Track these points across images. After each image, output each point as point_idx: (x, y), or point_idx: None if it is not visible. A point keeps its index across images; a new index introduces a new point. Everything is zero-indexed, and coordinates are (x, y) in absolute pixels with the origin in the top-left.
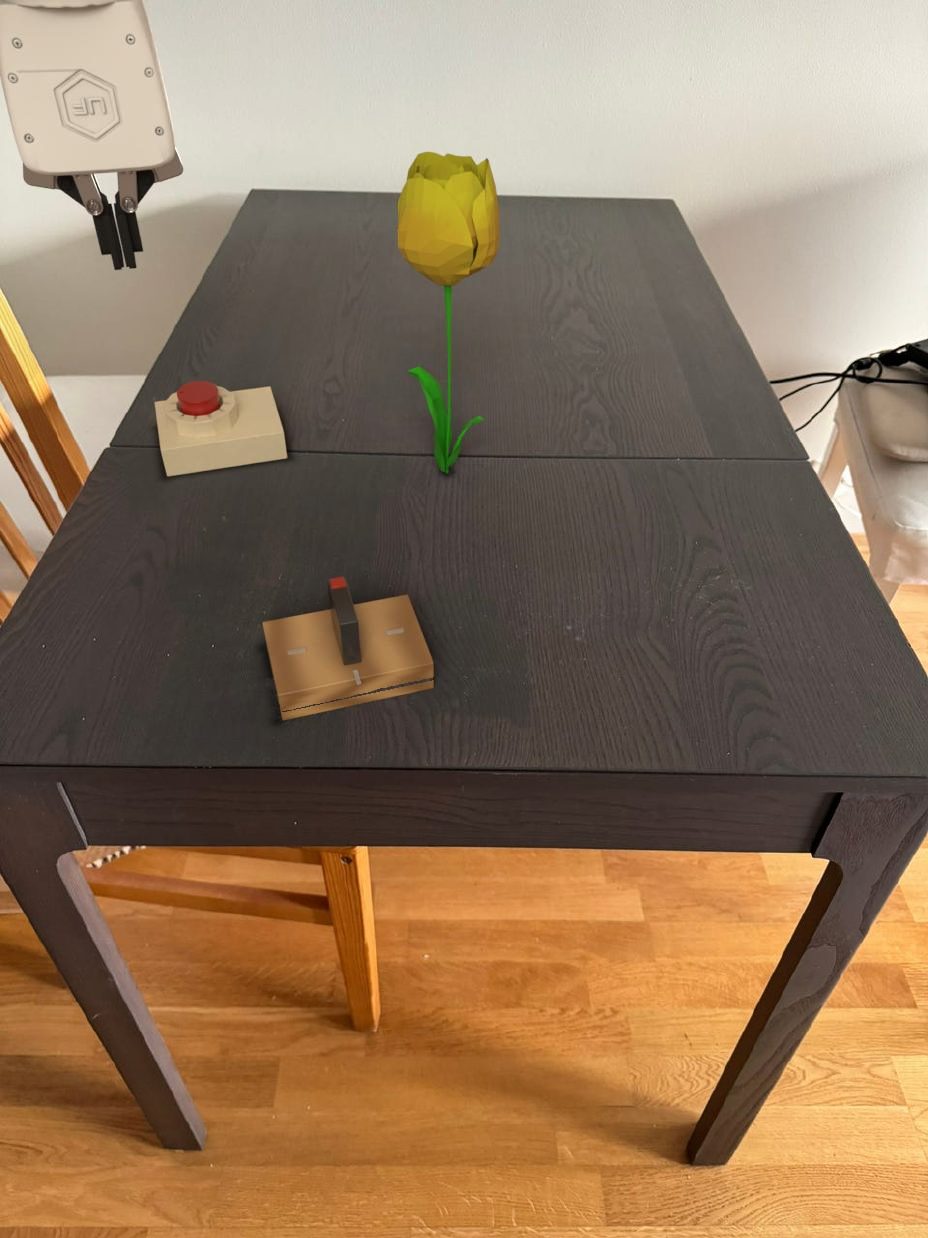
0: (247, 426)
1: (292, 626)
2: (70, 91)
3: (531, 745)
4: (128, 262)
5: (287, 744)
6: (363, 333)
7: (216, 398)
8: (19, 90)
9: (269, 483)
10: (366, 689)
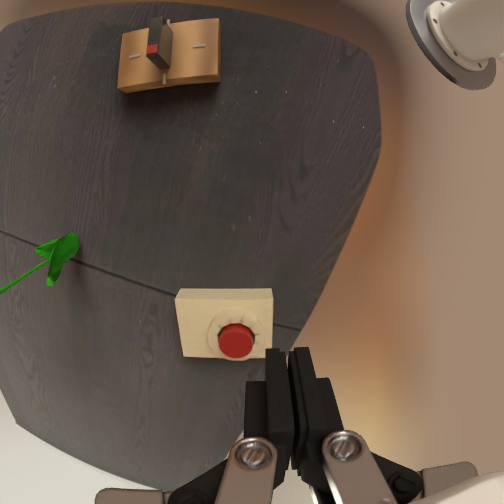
0: (202, 313)
1: (197, 66)
2: None
3: (103, 12)
4: (279, 353)
5: (221, 15)
6: (131, 400)
7: (221, 335)
8: None
9: (195, 261)
10: None
